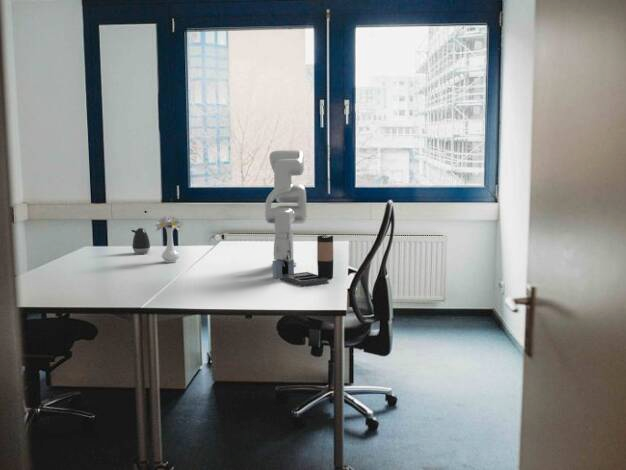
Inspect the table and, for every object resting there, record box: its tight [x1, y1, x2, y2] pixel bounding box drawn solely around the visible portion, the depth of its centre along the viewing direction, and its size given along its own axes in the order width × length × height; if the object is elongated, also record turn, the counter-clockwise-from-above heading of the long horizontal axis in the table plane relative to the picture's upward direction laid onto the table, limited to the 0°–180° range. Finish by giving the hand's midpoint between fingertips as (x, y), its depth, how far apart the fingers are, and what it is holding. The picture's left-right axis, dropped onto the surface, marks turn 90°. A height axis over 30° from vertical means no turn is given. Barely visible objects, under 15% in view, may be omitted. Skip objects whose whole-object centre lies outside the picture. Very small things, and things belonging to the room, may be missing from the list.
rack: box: [280, 271, 330, 288], centre depth 319 cm, size 20×14×3 cm
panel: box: [272, 258, 295, 279], centre depth 330 cm, size 3×10×8 cm, turn 122°
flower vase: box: [155, 216, 183, 264], centre depth 374 cm, size 13×18×25 cm
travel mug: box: [316, 234, 334, 280], centre depth 326 cm, size 8×8×20 cm
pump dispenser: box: [130, 227, 151, 255], centre depth 403 cm, size 10×10×15 cm
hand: (283, 273), depth 331 cm, fingers closed on panel, 3 cm apart
